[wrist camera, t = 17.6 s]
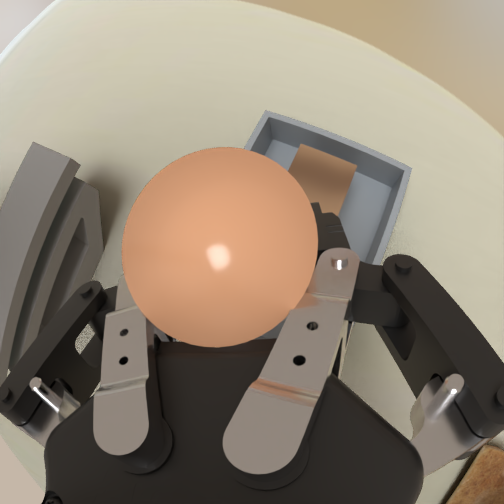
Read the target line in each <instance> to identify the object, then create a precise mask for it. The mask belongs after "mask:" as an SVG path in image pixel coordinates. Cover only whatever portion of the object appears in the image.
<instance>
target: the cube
mask: <svg viewBox="0 0 504 504" xmlns="http://www.w3.org/2000/svg"><path fill="white" fill-rule="evenodd" d="M356 168H357V165H355V164H352V163H350V162H347V161H345V160H343V159H340V158H338V157H335V156H333V155H330V154H328V153H325V152H322V151H320V150H317V149H314V148H312V147H309V146H306V145H304V144H300V147H299V149H298V151H297V153H296V155H295V157H294V159H293V161H292V163H291V165H290V168H289V170H288V172H289V173H290V174H291V175H292V176H293V177H294V178H295V179H296V181H297V182H298V183H299V185H300V186H301V187H302V189H303V190H304V192H305V194H306V196H307V198H308V199H309V202H310V203H314V202H319V204H320V208H321V211H322V213H329V212H333V213H334V214H335V215H336V216H338V214H339V212H340V209H341V207H342V204H343V202H344V199H345V197H346V194H347V192H348V189H349V186H350V184H351V181H352V179H353V176H354V173H355V171H356Z"/></svg>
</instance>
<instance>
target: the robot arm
mask: <svg viewBox="0 0 504 504" xmlns="http://www.w3.org/2000/svg"><path fill="white" fill-rule="evenodd" d="M310 204H311V207H312V209H313V212H314V216H315V220H316V225H317V233H318V250H317V259H316V264H315V268H314V272H313V275H312V277H311V280H310V283H309V285H308V288H307V290H306V292H305V293H304V295H303V297H302V298H301V300H300V301H299V302H298V304H297V305H296V307H295V308H294V309H291V310H290V312H289V314H288V316H287V318H286V321H285V323H284V325H283V327H282V329H281V332H280V334H279V336H278V338H272V339H256V340H250V341H248V342H245V343H241V344H237V345H233V346H226V347H217V348H216V347H203V346H197V345H192V344H188V343H185V342H176V339H175V338H173V337H171V336H169V335H167V334H166V333H164V332H163V331H161V330H160V329H158V328H157V327H156V326H155V325H154V324H153V323H152V322H150V321H149V320H148V319H147V317H146V316H145V315H144V314H143V313H142V312H141V310H140V309H139V307H138V306H137V304H136V303H135V301H134V299H133V297H132V295H131V293H130V291H129V289H128V286H127V283H126V280H125V276H124V274H123V275H122V276H121V277H120V279H119V281H118V286H115V287H111V288H108V289H105V290H104V289H103V287H102V285H101V283H100V282H98V281H90V282H87V283H85V284H83V285H82V286H80V287H79V288H78V289H77V290H76V291H75V292H74V293H73V295H72V296H71V297H70V298H69V299H68V300H67V301H66V303H65V304H64V305H63V306H62V307H61V308H60V310H59V311H58V312H57V313H56V314H55V316H54V317H53V318H52V319H51V320H50V322H49V323H48V324H47V325H46V326H45V328H44V329H43V330H42V331H41V333H40V334H39V335H38V336H37V338H36V339H35V340H34V342H33V343H32V344H31V345H30V347H29V348H28V349H27V351H26V352H25V353H24V355H23V356H22V357H21V359H20V360H19V361H18V363H17V364H16V365H15V367H14V368H13V370H12V371H11V372H10V374H9V375H8V377H7V378H6V379H5V381H4V382H3V384H2V385H1V387H0V413H1V414H2V415H4V416H5V417H6V418H7V419H9V420H10V421H11V422H12V423H13V424H14V425H15V426H16V427H18V428H19V429H20V430H22V431H23V432H24V433H26V434H27V435H29V436H30V437H31V438H33V439H35V440H36V441H37V442H39V443H40V444H41V445H42V446H43V447H44V448H45V450H44V461H45V469H46V492H45V497H44V500H43V502H42V504H415V503H416V501H417V499H418V496H419V494H420V492H421V489H422V485H423V479H424V477H426V476H428V475H429V474H431V473H433V472H435V471H436V470H438V469H440V468H442V467H443V466H445V465H447V464H448V463H450V462H451V461H453V460H462V459H465V458H467V457H469V456H470V455H471V454H473V453H474V452H476V451H477V450H478V449H480V448H481V447H482V446H484V445H485V444H486V443H488V442H489V441H490V440H491V439H493V438H494V437H495V436H496V435H498V434H499V433H500V432H501V431H503V430H504V363H503V362H502V360H501V359H500V358H499V356H498V355H497V354H496V352H495V351H494V349H493V348H492V347H491V345H490V344H489V343H488V341H487V340H486V339H485V338H484V336H483V335H482V334H481V332H480V331H479V330H478V329H477V327H476V326H475V325H474V324H473V322H472V321H471V320H470V319H469V317H468V316H467V315H466V314H465V313H464V311H463V310H462V309H461V308H460V307H459V305H458V304H457V303H456V302H455V301H454V300H453V298H452V297H451V296H450V295H449V294H448V293H447V292H446V290H445V289H444V288H443V287H442V286H441V285H440V284H439V283H438V281H437V280H436V279H435V278H434V277H433V276H432V275H431V274H430V273H429V272H428V271H427V269H426V268H425V267H424V266H423V265H422V264H421V263H420V262H419V261H418V260H417V259H415V258H413V257H411V256H408V255H403V254H397V255H392V256H390V257H388V258H387V259H386V260H385V261H384V263H383V266H382V265H373V264H368V263H365V262H362V261H360V259H359V256H358V255H357V253H355V252H354V251H352V250H351V248H350V245H349V243H348V240H347V237H346V234H345V232H344V229H343V226H342V224H341V221H340V218H339V217H338V216H336V215H335V214H334V213H333V212H329V213H322V211H321V208H320V204H319V202H314V203H310ZM354 322H359V323H366V324H373V325H375V328H376V330H377V331H378V333H379V335H380V336H381V338H382V340H383V341H384V343H385V345H386V346H387V348H388V350H389V351H390V353H391V355H392V356H393V358H394V360H395V362H396V363H397V365H398V367H399V369H400V370H401V372H402V374H403V376H404V377H405V379H406V381H407V383H408V384H409V386H410V388H411V390H412V392H413V394H414V395H415V397H416V399H417V400H416V401H415V403H414V405H413V406H412V409H411V412H410V420H411V423H412V427H413V436H412V439H411V441H409V440H408V439H407V438H406V437H404V436H403V435H402V434H401V433H400V432H399V431H397V430H396V429H395V428H394V427H393V426H392V425H390V424H389V423H388V422H387V421H386V420H385V419H384V418H382V417H381V416H380V415H379V414H378V413H377V412H375V411H374V410H373V409H372V408H371V407H370V406H369V405H368V404H366V403H365V402H364V401H363V400H362V399H361V398H360V397H359V396H357V395H356V394H355V393H354V392H353V391H352V390H351V389H350V388H349V387H347V386H346V385H345V384H344V383H343V382H342V381H341V380H340V376H341V372H342V368H343V363H344V358H345V354H346V350H347V347H348V343H349V339H350V335H351V331H352V327H353V323H354ZM87 324H89V325H90V326H91V328H92V329H93V331H94V332H95V335H94V336H93V337H92V339H91V340H90V342H89V343H88V344H87V346H86V347H85V348H84V350H83V351H82V353H81V354H79V353H78V352H77V350H76V348H75V341H76V338H77V337H78V336H79V334H80V333H81V332H82V330H83V329H84V328H85V326H86V325H87ZM100 380H101V385H100V388H99V389H98V390H97V391H96V392H95V394H94V395H93V396H92V397H91V398H90V396H91V395H92V393H93V391H94V390H95V388H96V387H97V385H98V384H99V382H100Z"/></svg>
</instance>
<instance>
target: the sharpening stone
mask: <svg viewBox="0 0 504 504" xmlns="http://www.w3.org/2000/svg"><path fill="white" fill-rule="evenodd" d="M79 167H80V164H79V163H77V162H76V161H74V160H73V159H71V158H69V157H67V156H65V155H62V154H60V153H58V152H55V151H53V150H51V149H49V148H46V147H44V146H42V145H40V144H37V143H35V142H33V143H32V145H31V146H30V148H29V150H28V152H27V154H26V156H25V158H24V159H23V161H22V163H21V165H20V167H19V169H18V171H17V173H16V176H15V178H14V180H13V182H12V184H11V186H10V189H9V191H8V193H7V195H6V198H5V200H4V202H3V205H2V207H1V210H0V387H1V385H2V384H3V382H4V381H5V379H6V378H7V371H8V369H9V370H10V371H12V370H13V368H14V367H15V365H16V364H17V363H18V361H19V360H20V359H21V357H22V356H23V355H24V353H25V352H26V351H27V349H28V348H29V347H30V345H31V344H32V343H33V342H34V340H35V339H36V338H37V336H38V335H39V334H40V333H41V331H42V330H43V329H44V328H45V326H46V325H47V324H48V323H49V322H50V320H51V319H52V318H53V317H54V316H55V314H56V313H57V312H58V311H59V310H60V308H61V307H62V306H63V305H64V304H65V303H66V301H67V300H68V299H69V298H70V297H71V296H72V295H73V293H74V292H75V291H76V290H77V289H78V288H79V287H80V286H82V285H83V284H85V283H87V282H90V281H91V279H92V277H93V275H94V272H95V270H96V268H97V265H98V263H99V261H100V258H101V256H102V254H103V252H104V247H103V238H102V229H101V218H100V205H99V190H97V189H96V188H94V187H92V186H91V185H89V184H87V183H85V182H84V181H82V180H80V179H78V178H76V177H74V176H75V174H76V173H77V171H78V169H79Z"/></svg>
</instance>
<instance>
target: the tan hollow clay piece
mask: <svg viewBox="0 0 504 504" xmlns="http://www.w3.org/2000/svg"><path fill="white" fill-rule="evenodd" d="M446 504H504V450H502V449H499V448H498V447H496V446H491V445H484V446H483V447H482V449H481V450H480V452H479V453H478V455H477V456H476V458H475V460H474V461H473V463H472V465H471V466H470V468H469V469H468V471H467V473H466V474H465V476H464V477H463V479H462V480H461V482H460V483H459V485H458V487H457V488H456V490H455V491H454V492H453V494H452V495H451V497H450V498H449V500H448V501H447V503H446Z"/></svg>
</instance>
